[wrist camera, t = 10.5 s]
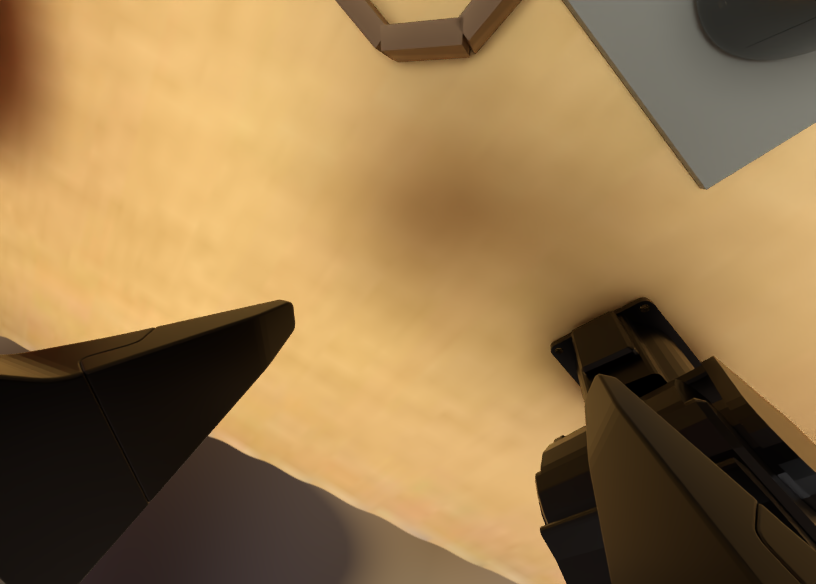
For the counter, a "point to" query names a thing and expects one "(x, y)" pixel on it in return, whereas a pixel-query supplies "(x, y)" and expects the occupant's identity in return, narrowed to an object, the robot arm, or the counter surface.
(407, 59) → the walnut collar
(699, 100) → the rubber mat
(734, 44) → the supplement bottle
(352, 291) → the counter surface
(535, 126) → the counter surface
